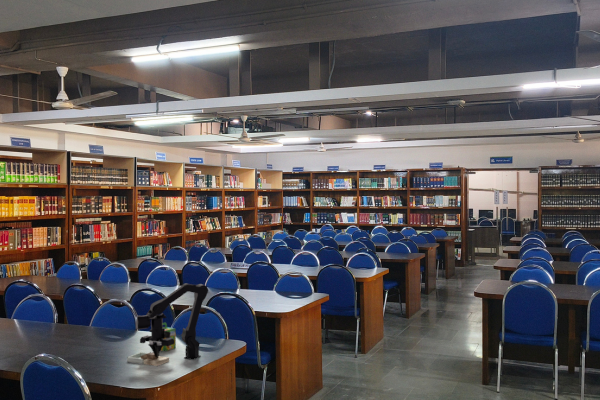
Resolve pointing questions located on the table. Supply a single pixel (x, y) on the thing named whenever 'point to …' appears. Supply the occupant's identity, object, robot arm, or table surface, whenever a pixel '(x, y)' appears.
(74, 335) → the table surface
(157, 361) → the beige square slab
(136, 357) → the tray
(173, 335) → the chalk box
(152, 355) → the tile
